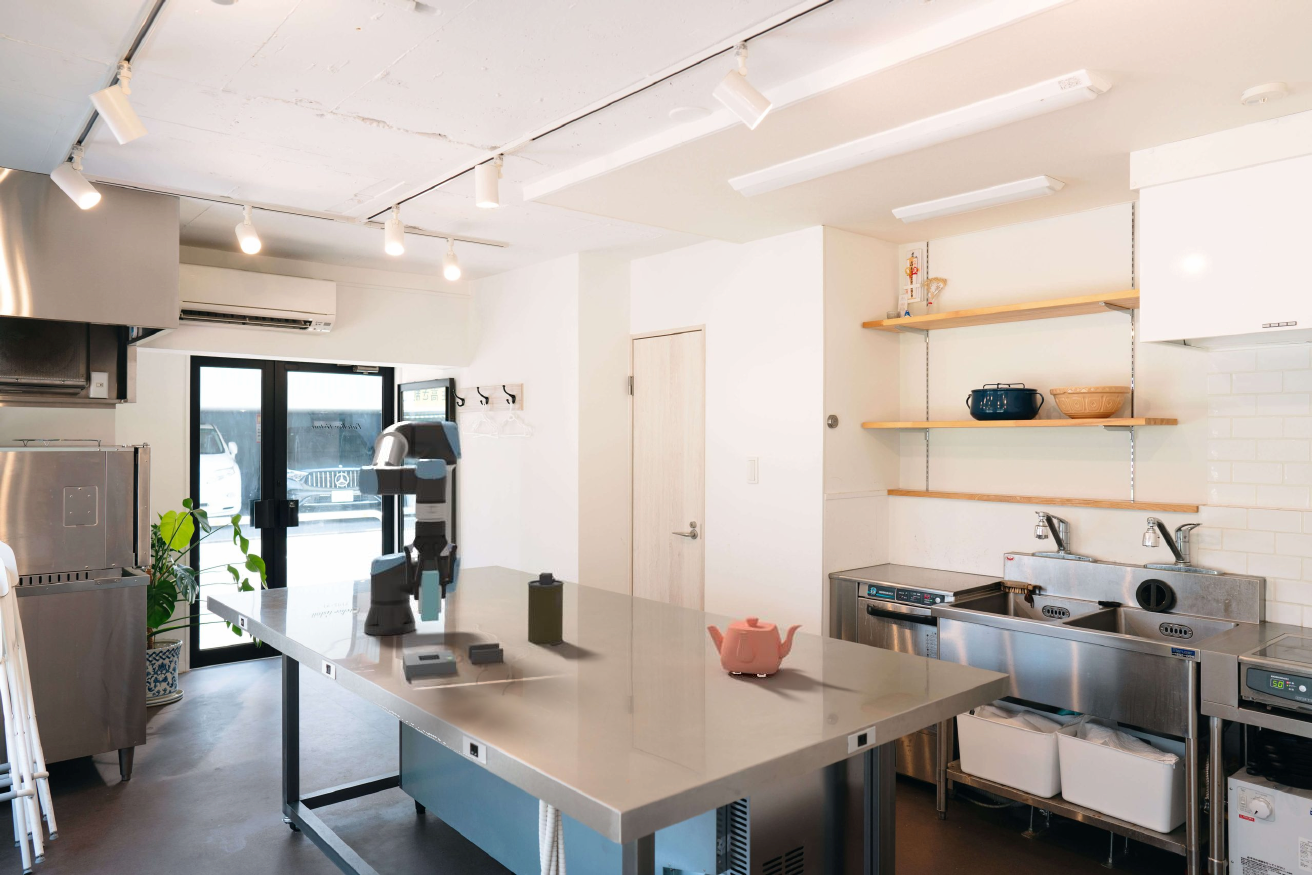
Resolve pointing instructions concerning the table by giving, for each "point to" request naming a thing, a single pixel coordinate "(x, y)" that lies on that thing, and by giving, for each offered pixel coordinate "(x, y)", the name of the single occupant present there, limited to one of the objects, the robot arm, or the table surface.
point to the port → (428, 663)
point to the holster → (485, 653)
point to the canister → (545, 610)
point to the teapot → (752, 646)
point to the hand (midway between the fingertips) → (429, 612)
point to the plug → (430, 596)
